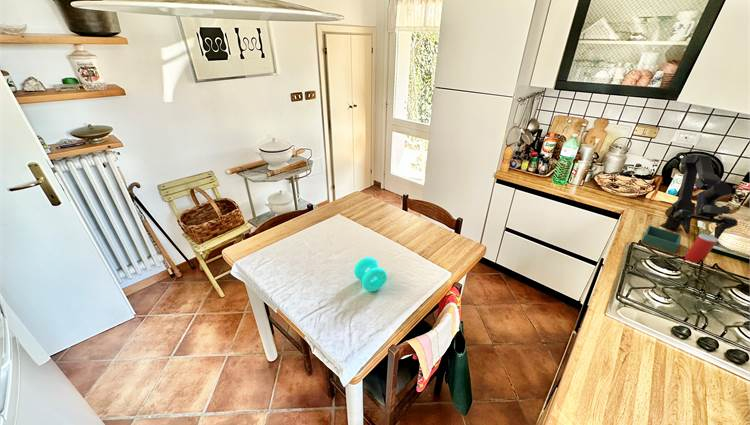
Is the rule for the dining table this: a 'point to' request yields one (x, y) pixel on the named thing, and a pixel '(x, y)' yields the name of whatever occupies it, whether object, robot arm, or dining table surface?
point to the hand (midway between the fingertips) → (701, 237)
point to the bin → (661, 239)
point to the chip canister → (701, 248)
